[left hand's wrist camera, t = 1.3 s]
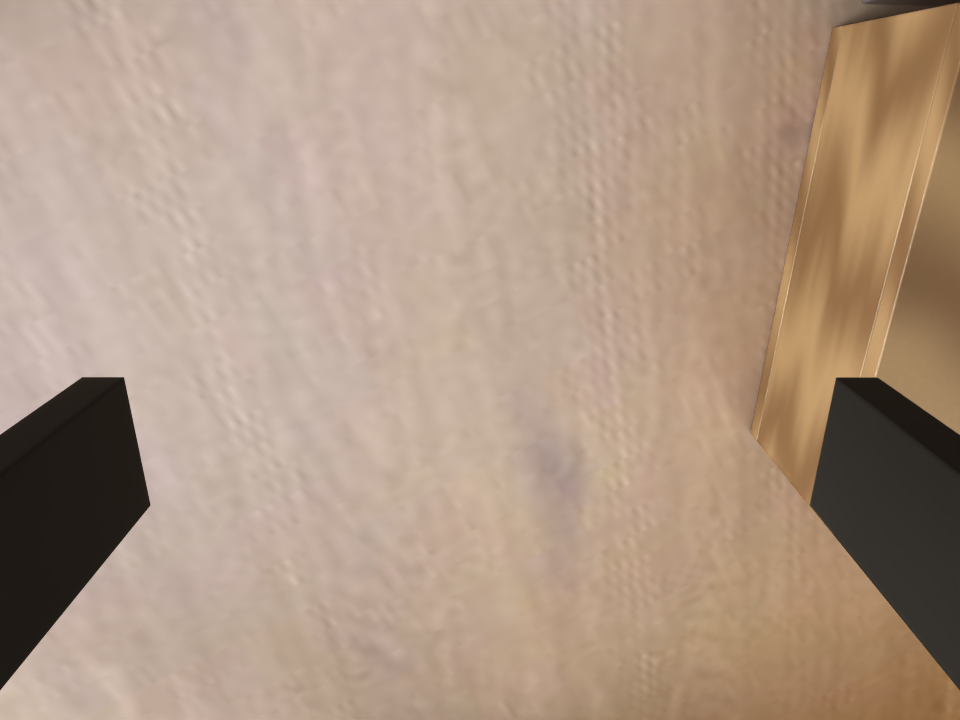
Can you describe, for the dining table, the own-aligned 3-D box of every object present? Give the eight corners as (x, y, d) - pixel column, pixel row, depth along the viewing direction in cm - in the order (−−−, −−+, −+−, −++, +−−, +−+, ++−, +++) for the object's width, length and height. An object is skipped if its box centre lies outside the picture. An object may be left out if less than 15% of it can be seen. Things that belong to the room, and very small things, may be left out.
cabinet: (832, 27, 32) (977, -2, 23) (1069, 36, 32) (1310, 11, 23) (749, 433, 40) (832, 535, 30) (940, 439, 40) (1081, 543, 31)
